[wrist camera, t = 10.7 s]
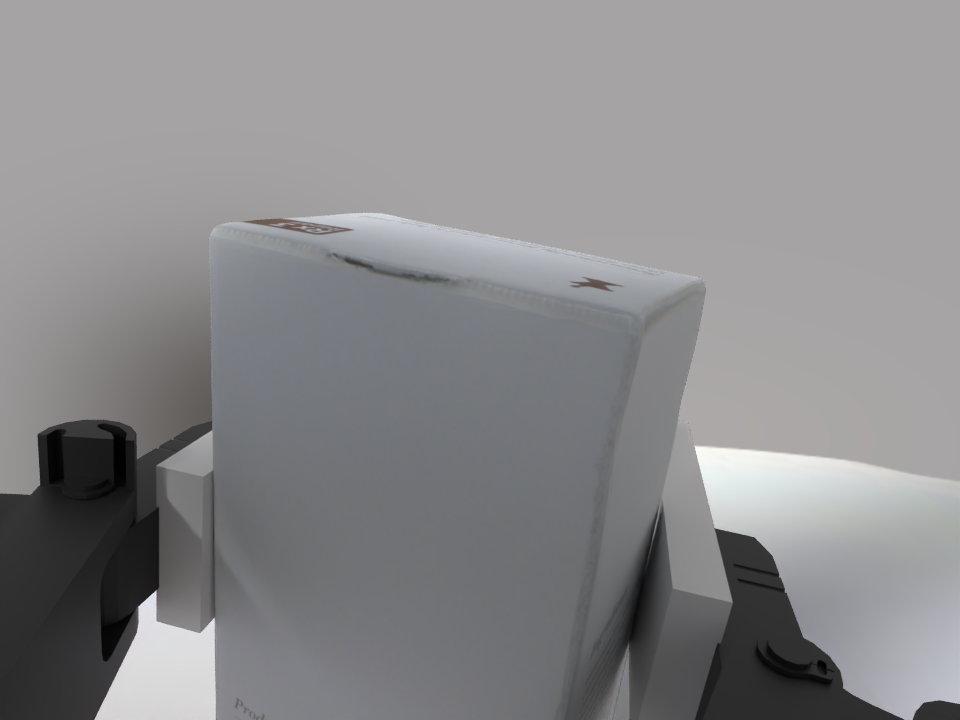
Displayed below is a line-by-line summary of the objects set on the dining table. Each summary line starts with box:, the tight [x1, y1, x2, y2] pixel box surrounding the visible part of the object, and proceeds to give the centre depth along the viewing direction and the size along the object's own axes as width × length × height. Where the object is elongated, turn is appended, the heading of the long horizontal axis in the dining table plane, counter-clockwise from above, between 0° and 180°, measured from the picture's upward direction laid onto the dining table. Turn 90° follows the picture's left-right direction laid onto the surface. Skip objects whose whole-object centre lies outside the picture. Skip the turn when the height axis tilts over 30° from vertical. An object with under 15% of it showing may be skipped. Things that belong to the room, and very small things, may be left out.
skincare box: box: [209, 213, 706, 720], centre depth 11 cm, size 6×4×12 cm
